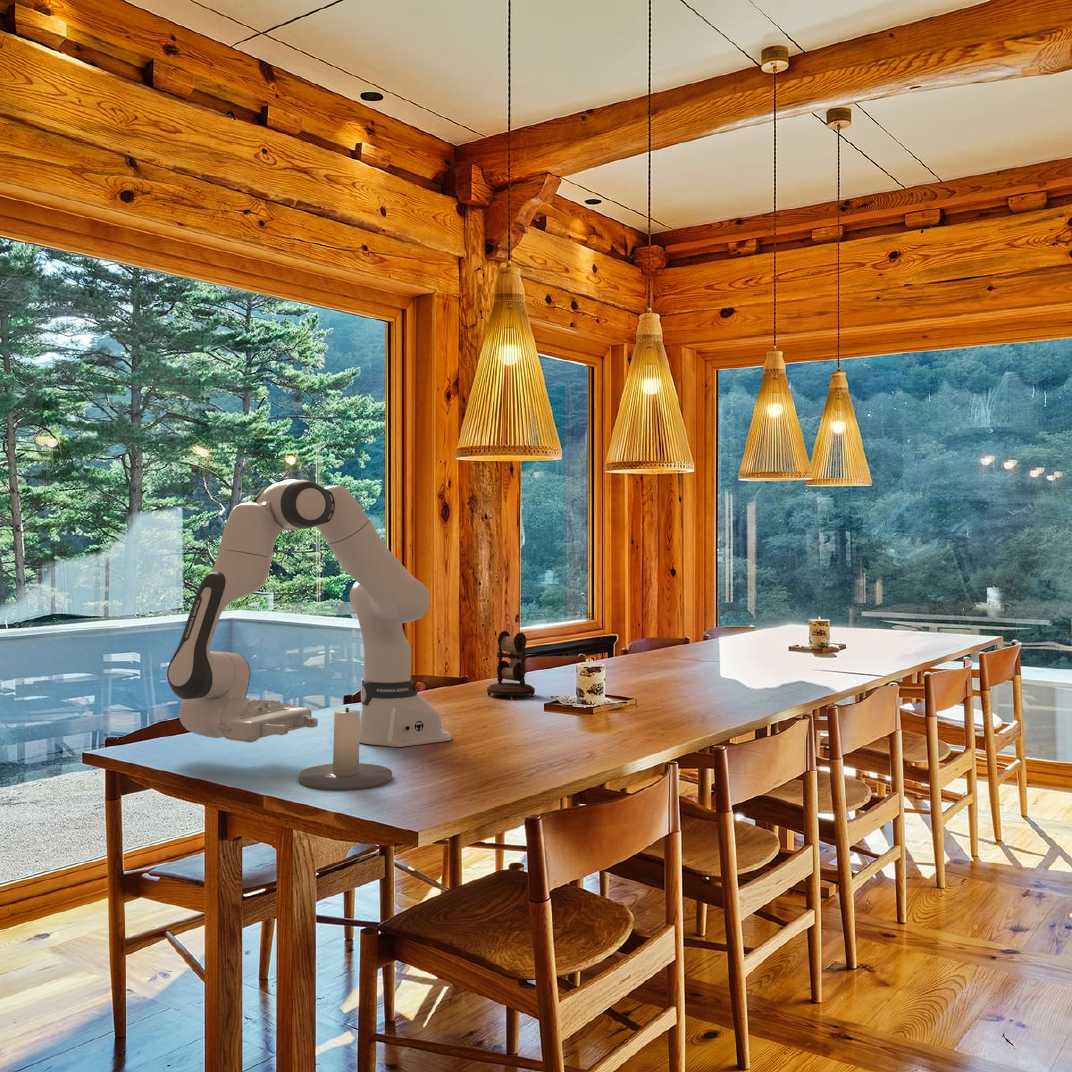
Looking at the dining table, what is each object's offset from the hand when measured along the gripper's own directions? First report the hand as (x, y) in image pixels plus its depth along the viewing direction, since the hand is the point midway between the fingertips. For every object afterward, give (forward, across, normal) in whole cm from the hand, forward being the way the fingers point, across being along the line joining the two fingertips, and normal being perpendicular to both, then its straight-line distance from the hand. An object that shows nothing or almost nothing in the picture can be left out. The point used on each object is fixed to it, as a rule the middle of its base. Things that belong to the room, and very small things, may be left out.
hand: (301, 726), depth 199 cm
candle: (+11, 0, +8) cm, 14 cm away
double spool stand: (-9, +114, +9) cm, 114 cm away
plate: (+11, 0, +9) cm, 14 cm away
